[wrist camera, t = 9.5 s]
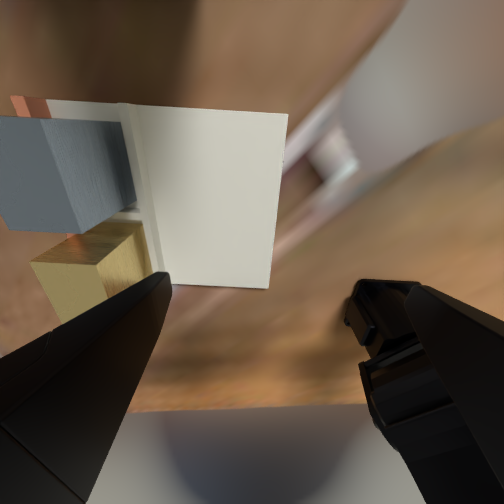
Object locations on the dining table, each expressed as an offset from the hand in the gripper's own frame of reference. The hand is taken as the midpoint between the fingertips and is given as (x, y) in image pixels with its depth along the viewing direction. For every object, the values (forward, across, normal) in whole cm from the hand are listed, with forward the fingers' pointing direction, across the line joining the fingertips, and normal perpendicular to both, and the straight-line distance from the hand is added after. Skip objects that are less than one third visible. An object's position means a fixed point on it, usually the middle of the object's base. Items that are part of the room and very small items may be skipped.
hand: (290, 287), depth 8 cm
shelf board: (+12, +8, +2) cm, 14 cm away
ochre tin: (+11, +13, +5) cm, 18 cm away
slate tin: (+11, +13, -2) cm, 17 cm away
